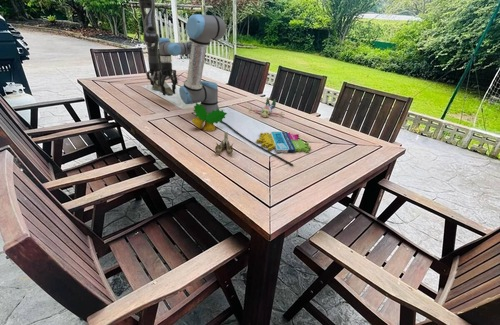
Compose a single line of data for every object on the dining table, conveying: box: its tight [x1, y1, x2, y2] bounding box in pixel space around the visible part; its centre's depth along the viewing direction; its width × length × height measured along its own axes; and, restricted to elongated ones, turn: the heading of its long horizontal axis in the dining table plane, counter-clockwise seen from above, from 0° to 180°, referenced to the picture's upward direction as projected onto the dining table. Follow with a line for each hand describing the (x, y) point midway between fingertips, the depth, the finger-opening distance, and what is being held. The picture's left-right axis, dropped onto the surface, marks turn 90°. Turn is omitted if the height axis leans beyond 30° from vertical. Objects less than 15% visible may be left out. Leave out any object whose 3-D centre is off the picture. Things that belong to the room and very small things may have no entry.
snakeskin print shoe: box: [151, 80, 174, 97], centre depth 198 cm, size 8×25×9 cm, turn 46°
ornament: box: [191, 102, 228, 132], centre depth 162 cm, size 21×8×15 cm, turn 105°
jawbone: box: [214, 131, 234, 156], centre depth 136 cm, size 9×15×10 cm
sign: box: [256, 131, 312, 154], centre depth 152 cm, size 26×2×30 cm
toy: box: [247, 97, 285, 118], centre depth 199 cm, size 28×7×30 cm
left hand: (156, 84), depth 204 cm, fingers closed on snakeskin print shoe, 6 cm apart
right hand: (169, 94), depth 195 cm, fingers closed on snakeskin print shoe, 7 cm apart
